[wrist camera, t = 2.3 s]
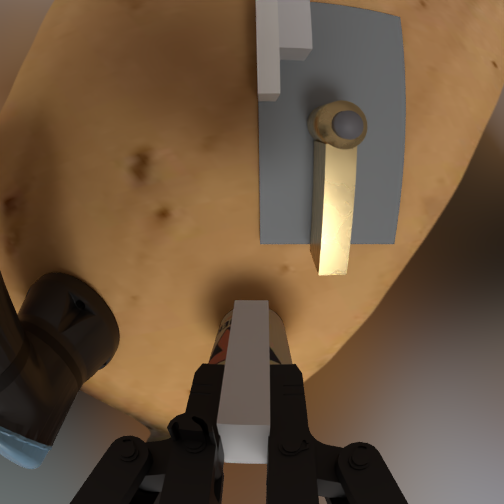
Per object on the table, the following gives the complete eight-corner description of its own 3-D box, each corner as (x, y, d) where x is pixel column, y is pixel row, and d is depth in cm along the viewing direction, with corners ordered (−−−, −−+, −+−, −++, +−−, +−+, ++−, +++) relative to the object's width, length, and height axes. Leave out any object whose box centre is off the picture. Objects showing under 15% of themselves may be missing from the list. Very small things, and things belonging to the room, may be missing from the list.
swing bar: (307, 104, 23) (318, 98, 18) (346, 106, 23) (367, 103, 18) (303, 250, 29) (312, 278, 24) (339, 250, 29) (354, 277, 24)
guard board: (260, 240, 30) (259, 281, 23) (256, 3, 21) (254, -37, 13) (390, 240, 30) (425, 277, 22) (396, 19, 20) (436, -6, 12)
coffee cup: (275, 287, 32) (281, 367, 21) (301, 346, 36) (312, 425, 25) (199, 312, 34) (176, 390, 23) (232, 365, 37) (224, 442, 26)
